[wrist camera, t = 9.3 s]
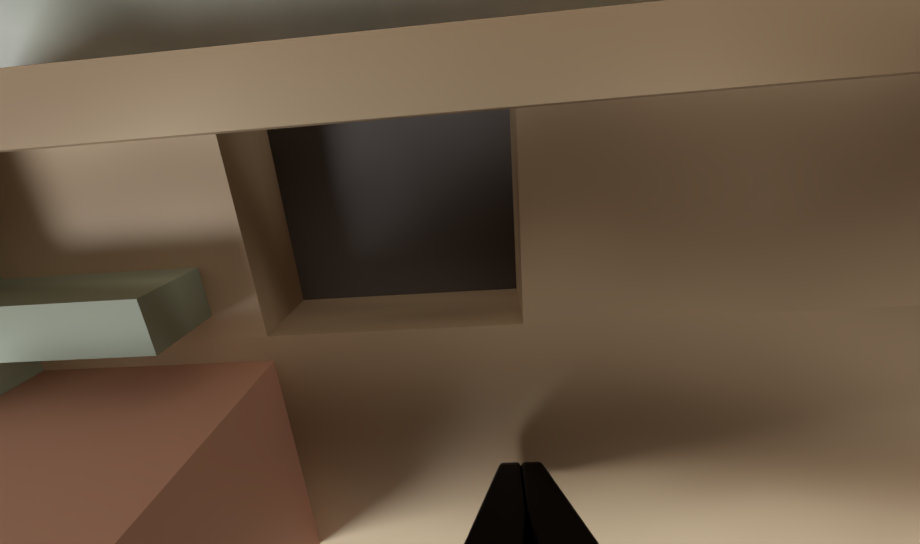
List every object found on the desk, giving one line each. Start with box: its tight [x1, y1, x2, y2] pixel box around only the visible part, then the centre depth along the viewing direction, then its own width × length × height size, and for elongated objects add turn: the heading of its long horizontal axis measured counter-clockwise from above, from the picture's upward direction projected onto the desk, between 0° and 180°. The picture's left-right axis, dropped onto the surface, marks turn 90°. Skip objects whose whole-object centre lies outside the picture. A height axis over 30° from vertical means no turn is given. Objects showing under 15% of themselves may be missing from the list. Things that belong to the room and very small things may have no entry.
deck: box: [0, 0, 920, 544], centre depth 9 cm, size 16×22×4 cm
